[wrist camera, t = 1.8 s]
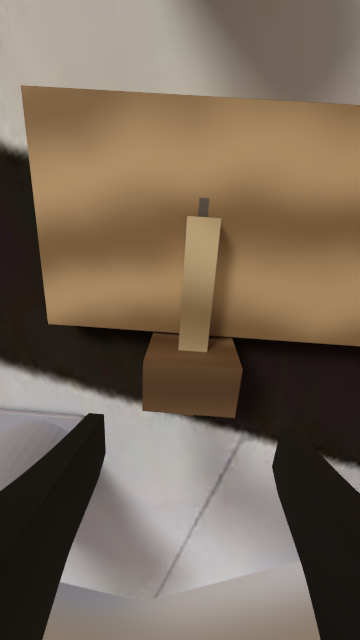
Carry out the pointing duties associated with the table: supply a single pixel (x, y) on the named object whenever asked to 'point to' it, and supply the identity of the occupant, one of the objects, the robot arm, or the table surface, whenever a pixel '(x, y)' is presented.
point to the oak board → (197, 210)
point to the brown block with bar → (194, 341)
